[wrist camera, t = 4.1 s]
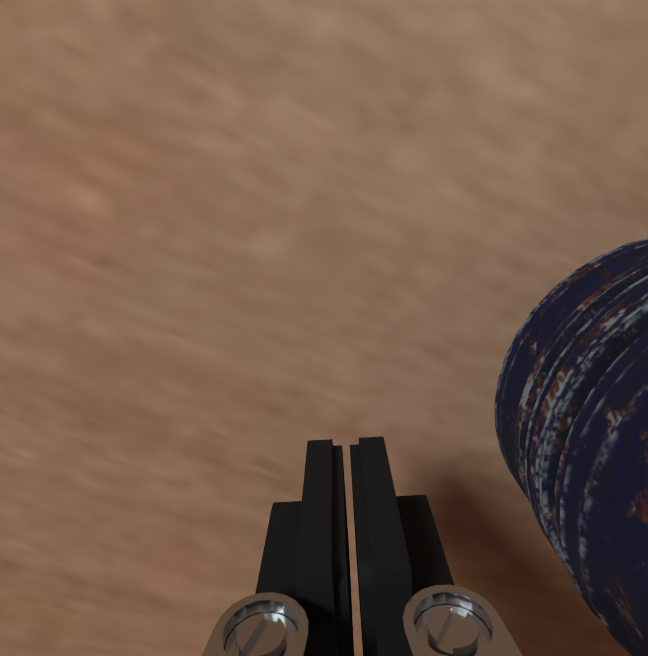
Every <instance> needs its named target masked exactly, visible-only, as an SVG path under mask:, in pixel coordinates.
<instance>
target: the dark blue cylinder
mask: <svg viewBox="0 0 648 656" xmlns="http://www.w3.org/2000/svg"><path fill="white" fill-rule="evenodd" d="M495 427H496V432H497V437H498V441H499V446H500V450H501V452H502V455H503V457H504V459H505V462H506V464H507V467H508V469H509V470H510V472H511V474H512V475H513V477H514V478H515V480H516V481H517V483H518V484H519V486H520V488H521V489H522V491H523V492H524V494H525V495H526V497H527V498H528V499H529V502H530V504H531V506H532V509H533V511H534V514H535V516H536V518H537V521H538V523H539V526H540V528H541V529H542V531H543V532H544V534H545V536H546V537H547V539H548V541H549V542H550V544H551V545H552V547H553V548H554V550H555V552H556V553H557V555H558V557H559V558H560V560H561V561H562V563H563V564H564V566H565V567H566V569H567V570H568V572H569V573H570V575H571V577H572V579H573V581H574V584H575V586H576V588H577V590H578V591H579V593H580V594H581V596H582V597H583V599H584V600H585V602H586V603H587V605H588V606H589V608H590V609H591V611H592V612H593V613H594V614H595V615H596V616H597V617H598V618H599V619H600V620H601V621H602V622H603V623H604V624H605V626H606V627H607V629H608V630H609V632H610V633H611V635H612V636H613V637H614V638H615V639H616V640H617V641H618V642H619V643H620V644H621V645H622V646H623V648H624V649H625V650H626V651H627V652H628V653H629V654H630V655H631V656H648V238H647V239H644V240H640V241H636V242H633V243H629V244H626V245H624V246H621V247H619V248H617V249H614V250H612V251H610V252H608V253H605V254H603V255H601V256H599V257H597V258H595V259H594V260H592V261H591V262H589V263H587V264H586V265H584V266H582V267H581V268H579V269H577V270H576V271H574V272H573V273H572V274H571V275H569V276H568V277H567V278H566V279H564V280H563V281H562V282H561V283H559V284H558V285H557V286H556V287H555V288H553V289H552V290H551V291H550V292H549V293H548V294H547V296H546V297H545V298H544V299H543V300H542V301H541V302H540V303H539V304H538V305H537V306H536V307H535V308H534V310H533V311H532V312H531V314H530V315H529V316H528V318H527V319H526V321H525V322H524V324H523V325H522V327H521V328H520V329H519V331H518V332H517V334H516V336H515V338H514V340H513V342H512V344H511V346H510V348H509V350H508V352H507V354H506V356H505V360H504V363H503V366H502V369H501V372H500V376H499V379H498V384H497V391H496V398H495Z"/></svg>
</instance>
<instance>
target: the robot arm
mask: <svg viewBox="0 0 648 656" xmlns="http://www.w3.org/2000/svg"><path fill="white" fill-rule="evenodd" d="M350 456H351V473H352V489H353V506H354V522H355V539H356V555H357V570H358V585H359V600H360V615H361V630H362V644H363V656H523V655H522V653H521V652H520V650H519V648H518V646H517V645H516V643H515V641H514V639H513V638H512V636H511V634H510V633H509V631H508V629H507V627H506V626H505V624H504V622H503V621H502V619H501V617H500V615H499V614H498V613H497V611H496V610H495V609H494V608H493V606H492V605H491V604H490V603H489V602H488V601H487V600H485V599H484V598H483V597H481V596H480V595H479V594H477V593H475V592H473V591H470V590H468V589H466V588H463V587H458V586H454V583H453V580H452V577H451V573H450V570H449V567H448V564H447V561H446V557H445V554H444V551H443V548H442V544H441V541H440V538H439V535H438V532H437V528H436V525H435V522H434V519H433V515H432V512H431V509H430V506H429V503H428V500H427V497H426V496H425V495H413V496H396V494H395V490H394V485H393V480H392V475H391V471H390V466H389V461H388V456H387V452H386V447H385V442H384V438H383V437H367V438H359V444H358V445H350ZM202 656H354V644H353V623H352V602H351V581H350V560H349V543H348V528H347V513H346V498H345V482H344V467H343V452H342V445H340V446H333V442H332V439H330V440H311V441H308V444H307V454H306V464H305V474H304V485H303V495H302V501H294V502H274V503H273V506H272V510H271V515H270V520H269V525H268V531H267V536H266V541H265V546H264V552H263V557H262V562H261V567H260V572H259V578H258V583H257V588H256V593H255V594H254V595H251V596H248V597H245V598H243V599H241V600H240V601H238V602H236V603H234V604H233V605H232V606H231V607H230V608H229V609H227V610H226V611H225V612H224V613H223V614H222V616H221V617H220V619H219V620H218V622H217V624H216V625H215V627H214V629H213V632H212V634H211V636H210V638H209V641H208V643H207V645H206V648H205V650H204V652H203V654H202Z"/></svg>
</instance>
